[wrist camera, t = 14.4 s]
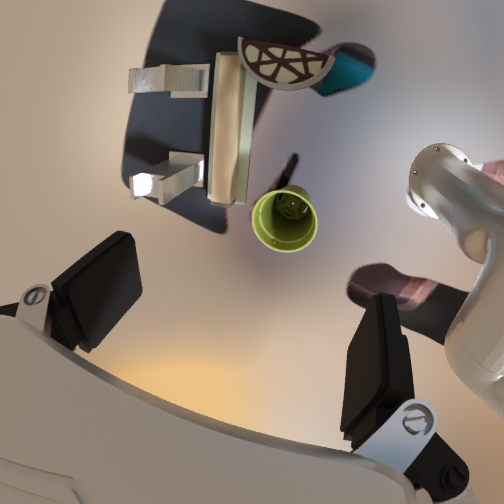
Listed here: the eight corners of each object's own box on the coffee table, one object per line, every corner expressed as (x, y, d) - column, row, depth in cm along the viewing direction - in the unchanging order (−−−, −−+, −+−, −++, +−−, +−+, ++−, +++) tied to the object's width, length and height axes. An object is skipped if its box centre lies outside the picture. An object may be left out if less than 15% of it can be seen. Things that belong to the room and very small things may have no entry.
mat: (260, 53, 35) (259, 53, 34) (245, 204, 48) (244, 205, 48) (217, 53, 36) (216, 52, 36) (209, 197, 50) (207, 198, 49)
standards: (211, 64, 37) (169, 55, 27) (204, 186, 49) (166, 213, 38) (174, 66, 39) (127, 61, 28) (171, 181, 50) (129, 206, 40)
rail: (248, 55, 35) (242, 51, 32) (235, 201, 48) (229, 208, 45) (228, 54, 35) (220, 51, 33) (217, 198, 49) (210, 204, 46)
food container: (247, 83, 38) (224, 79, 30) (256, 49, 34) (234, 35, 26) (325, 102, 36) (323, 101, 28) (335, 67, 33) (335, 55, 25)
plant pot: (257, 213, 49) (242, 234, 42) (278, 165, 43) (265, 179, 36) (305, 236, 48) (299, 262, 41) (330, 191, 43) (329, 210, 36)
